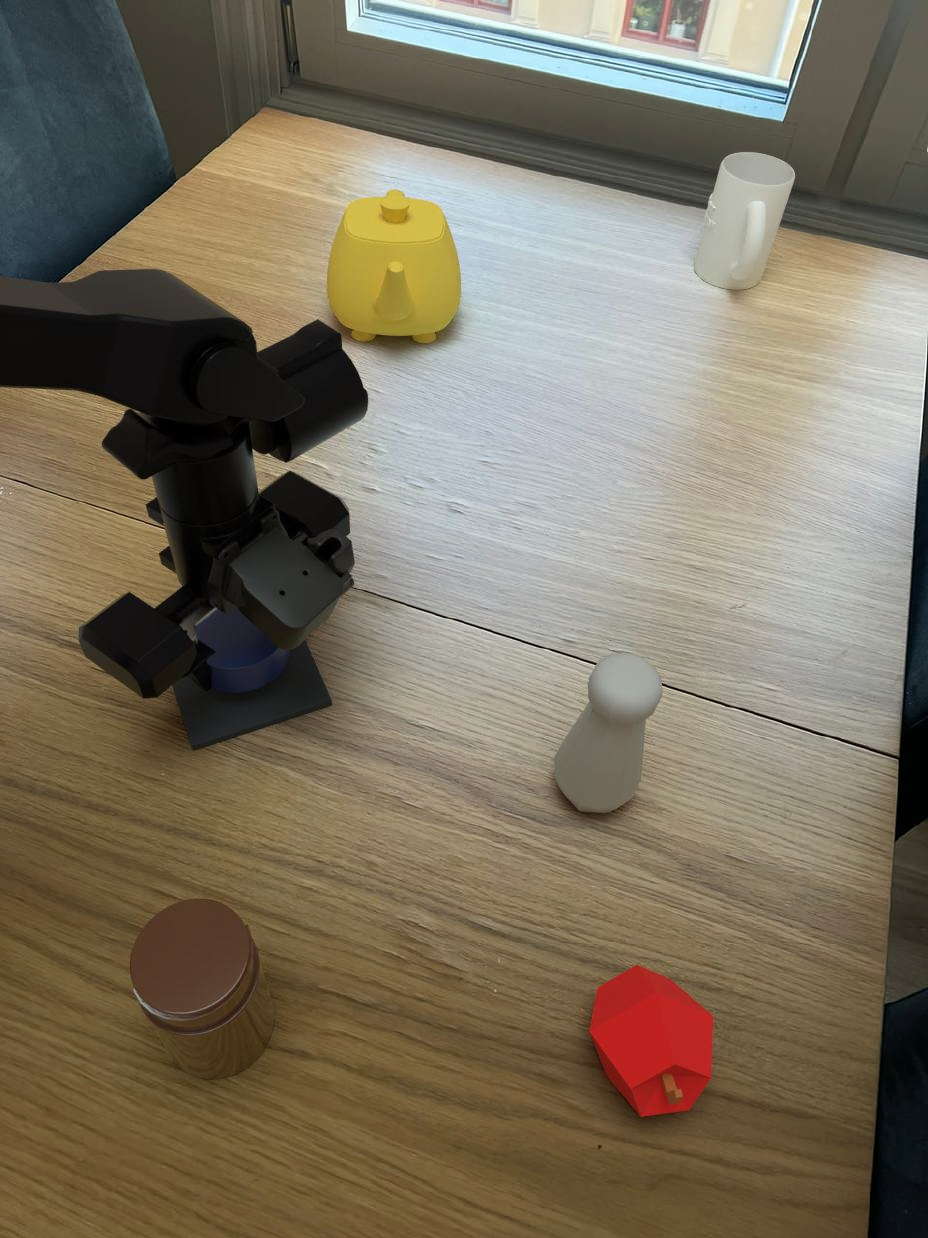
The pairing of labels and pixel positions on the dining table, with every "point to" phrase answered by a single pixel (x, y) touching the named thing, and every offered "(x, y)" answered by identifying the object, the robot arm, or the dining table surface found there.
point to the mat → (252, 702)
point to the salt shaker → (609, 735)
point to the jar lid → (239, 653)
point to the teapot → (394, 268)
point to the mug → (743, 219)
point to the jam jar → (203, 987)
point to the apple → (652, 1041)
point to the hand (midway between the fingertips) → (240, 655)
